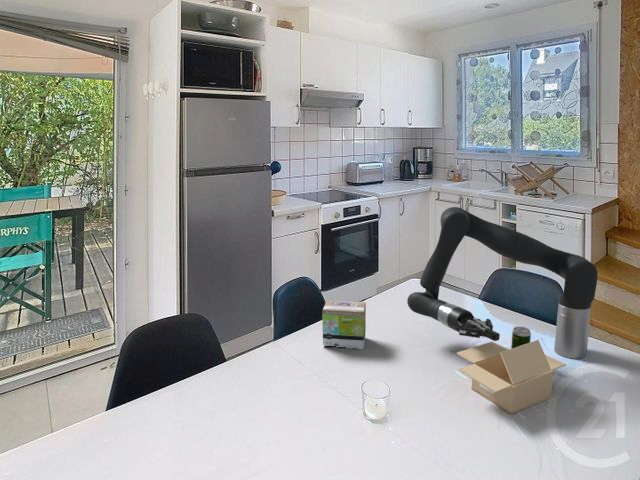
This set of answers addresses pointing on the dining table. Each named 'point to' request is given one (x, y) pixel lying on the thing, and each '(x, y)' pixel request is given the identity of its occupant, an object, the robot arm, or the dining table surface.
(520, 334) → the beer can
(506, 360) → the flap
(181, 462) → the dining table surface
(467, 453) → the dining table surface
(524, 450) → the dining table surface
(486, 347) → the carton
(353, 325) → the tea box
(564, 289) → the robot arm
